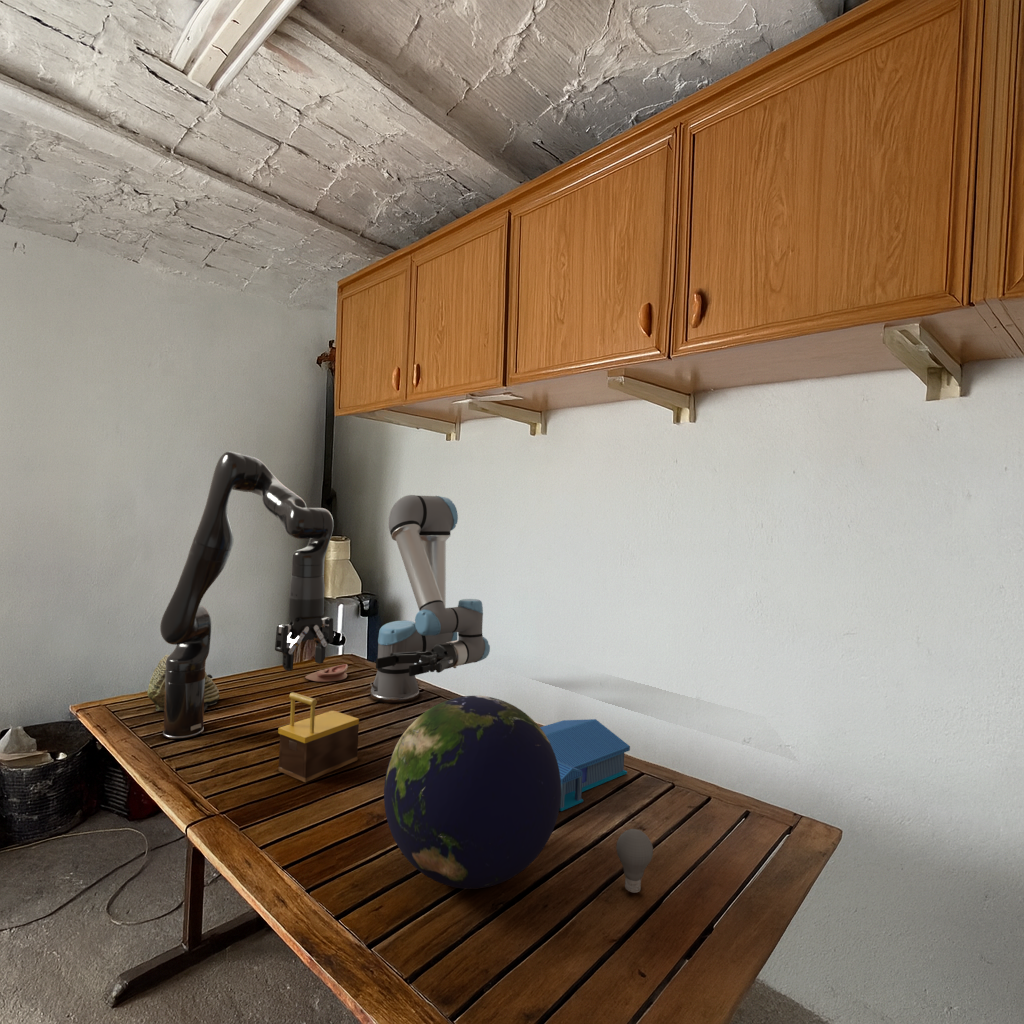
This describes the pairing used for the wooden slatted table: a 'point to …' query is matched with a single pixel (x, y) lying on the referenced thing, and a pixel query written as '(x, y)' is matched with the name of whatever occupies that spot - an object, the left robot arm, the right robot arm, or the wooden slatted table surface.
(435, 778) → the globe
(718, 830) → the wooden slatted table surface
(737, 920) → the wooden slatted table surface
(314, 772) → the chest
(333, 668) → the anatomical model
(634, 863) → the light bulb
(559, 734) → the model building
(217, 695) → the fossil
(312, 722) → the lid
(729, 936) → the wooden slatted table surface
